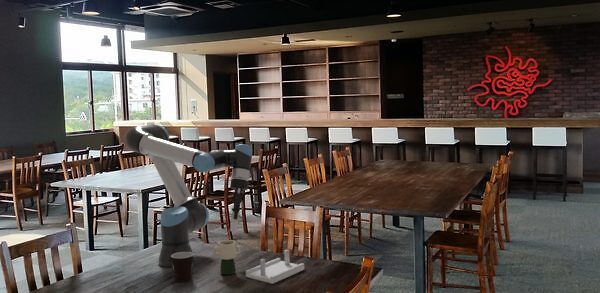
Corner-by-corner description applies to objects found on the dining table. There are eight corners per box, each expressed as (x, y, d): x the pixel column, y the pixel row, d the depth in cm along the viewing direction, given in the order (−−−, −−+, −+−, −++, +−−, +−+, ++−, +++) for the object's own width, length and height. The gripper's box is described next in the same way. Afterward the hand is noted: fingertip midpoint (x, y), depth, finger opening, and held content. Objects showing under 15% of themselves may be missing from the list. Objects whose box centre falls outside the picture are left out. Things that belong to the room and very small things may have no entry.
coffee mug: (189, 284, 204) (188, 258, 203) (168, 283, 206) (167, 257, 205) (200, 274, 215) (199, 250, 214) (180, 273, 217) (179, 249, 216)
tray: (245, 276, 210) (245, 258, 210) (278, 263, 226) (277, 246, 225) (272, 283, 202) (271, 264, 201) (304, 269, 218) (303, 251, 217)
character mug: (242, 270, 219) (241, 239, 217) (240, 275, 212) (239, 244, 210) (216, 270, 219) (214, 240, 218) (213, 276, 212) (211, 244, 210)
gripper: (250, 175, 216) (244, 227, 210) (247, 186, 240) (241, 233, 234) (232, 172, 215) (225, 225, 209) (230, 184, 239) (224, 231, 233)
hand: (233, 229), depth 222 cm, fingers open, 13 cm apart
